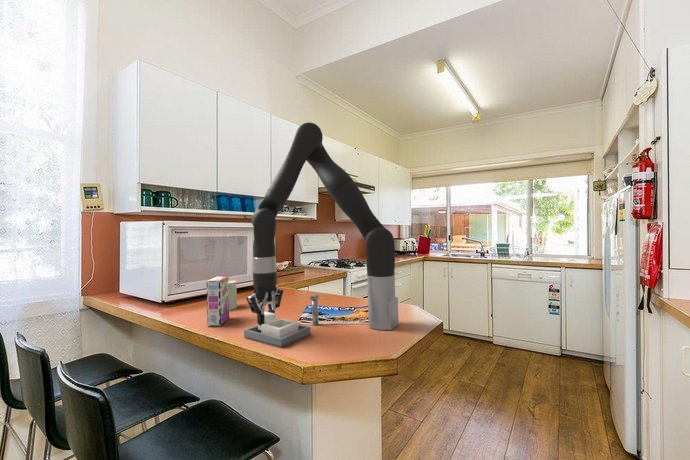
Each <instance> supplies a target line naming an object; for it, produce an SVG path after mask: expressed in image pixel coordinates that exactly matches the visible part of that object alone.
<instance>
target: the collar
mask: <svg viewBox="0 0 690 460" xmlns="http://www.w3.org/2000/svg"><path fill="white" fill-rule="evenodd" d="M264 322H265V324H262V325H261V326H260V325H259V324H258V323H257V325H258V330H261V333H263V334H267V335H271V336H275V337H279V338H283V337H285V336H287V335H290V334H292V333H294V332H297V331H298V325H299V322H298V321H294V320H291V319H285V318H282V317H280V318H277V314H276V312H275V313H270V312H268V311H264Z"/></svg>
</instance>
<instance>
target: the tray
mask: <svg viewBox="0 0 690 460" xmlns="http://www.w3.org/2000/svg"><path fill="white" fill-rule="evenodd" d="M311 333H312V332H311V326H307V325H301V324H298V331H297V332H294V333H292V334H290V335H287V336H285V337H283V338H279V337H275V336H271V335H267V334H263V333H261V330H258V324H256V325H255V326H254V325H253V326H252V327H248V328H246V329H243V338H244V339H245V340H251V341H254V342H258V343H261V344H265V345H269V346H272V347H275V346H276V347H277V348H279V349H282V348H283V349H284V348H285V347H287V346H289V345H291V344H294V343H296V342H299V341H300V340H303V339H305V338H307V337H309V336H311V335H312V334H311Z"/></svg>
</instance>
